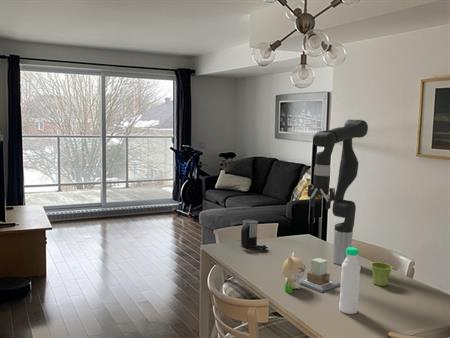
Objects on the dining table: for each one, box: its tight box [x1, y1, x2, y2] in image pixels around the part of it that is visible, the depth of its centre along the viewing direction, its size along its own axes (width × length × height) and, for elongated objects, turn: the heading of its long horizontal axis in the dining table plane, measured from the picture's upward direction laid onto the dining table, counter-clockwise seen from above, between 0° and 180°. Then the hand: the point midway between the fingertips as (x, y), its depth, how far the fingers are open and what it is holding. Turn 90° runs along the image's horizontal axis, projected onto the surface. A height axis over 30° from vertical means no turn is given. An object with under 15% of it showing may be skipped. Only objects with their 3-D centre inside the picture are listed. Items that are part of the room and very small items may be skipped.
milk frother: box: [240, 219, 268, 251], centre depth 257 cm, size 14×16×15 cm
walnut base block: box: [306, 271, 330, 286], centre depth 202 cm, size 7×7×4 cm
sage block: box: [310, 257, 328, 276], centre depth 202 cm, size 5×5×6 cm
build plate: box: [299, 276, 341, 293], centre depth 202 cm, size 14×14×1 cm
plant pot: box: [370, 262, 393, 287], centre depth 205 cm, size 9×9×9 cm
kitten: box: [281, 251, 306, 294], centre depth 196 cm, size 15×10×15 cm
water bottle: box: [338, 246, 362, 315], centre depth 173 cm, size 7×7×25 cm
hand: (320, 207), depth 214 cm, fingers open, 8 cm apart
